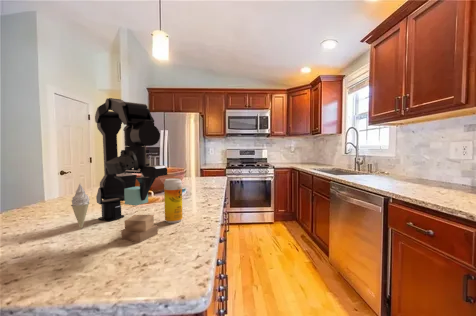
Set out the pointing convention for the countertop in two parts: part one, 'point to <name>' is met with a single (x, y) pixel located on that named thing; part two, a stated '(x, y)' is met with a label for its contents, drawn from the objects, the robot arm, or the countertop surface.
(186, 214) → the countertop surface
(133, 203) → the teal cube
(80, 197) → the ice cream cone
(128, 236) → the slab lower
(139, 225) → the slab upper
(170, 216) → the beer can
